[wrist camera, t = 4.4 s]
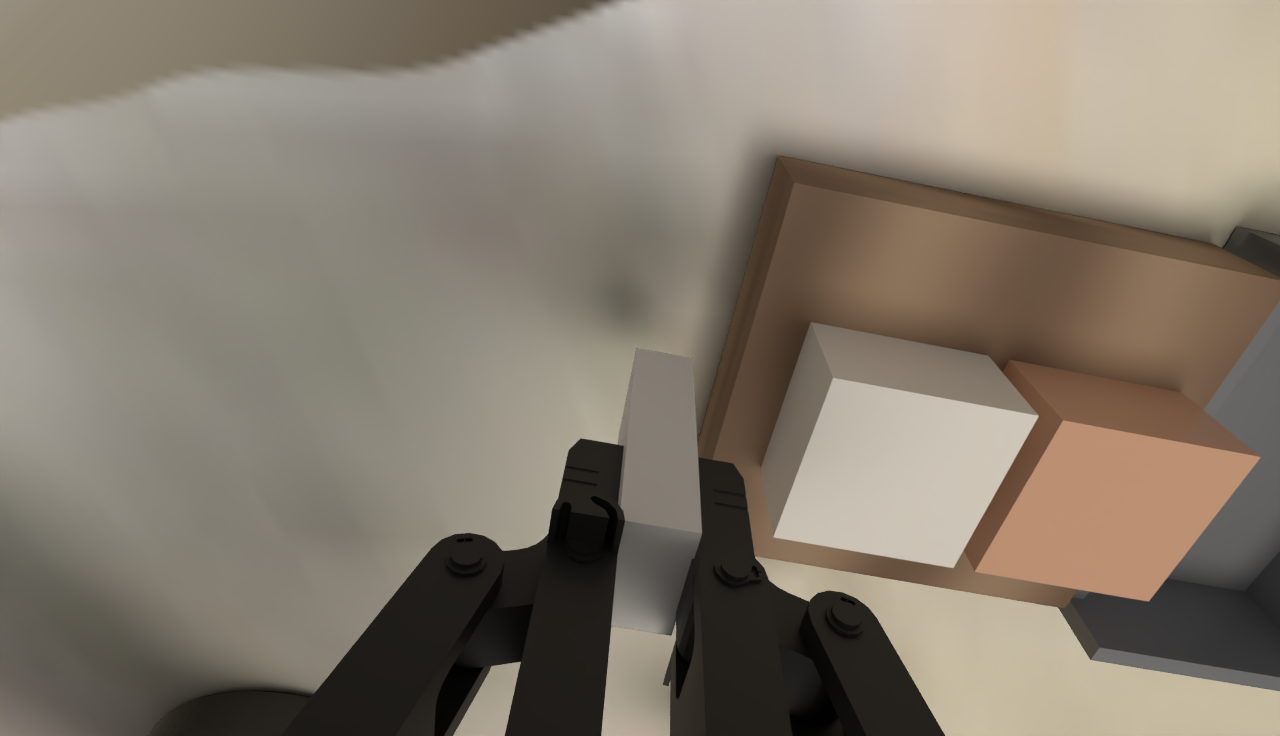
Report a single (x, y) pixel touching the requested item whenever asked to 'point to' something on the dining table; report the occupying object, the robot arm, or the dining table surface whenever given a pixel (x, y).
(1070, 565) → the tile
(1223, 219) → the dining table surface
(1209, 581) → the bin
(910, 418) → the tile
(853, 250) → the board
